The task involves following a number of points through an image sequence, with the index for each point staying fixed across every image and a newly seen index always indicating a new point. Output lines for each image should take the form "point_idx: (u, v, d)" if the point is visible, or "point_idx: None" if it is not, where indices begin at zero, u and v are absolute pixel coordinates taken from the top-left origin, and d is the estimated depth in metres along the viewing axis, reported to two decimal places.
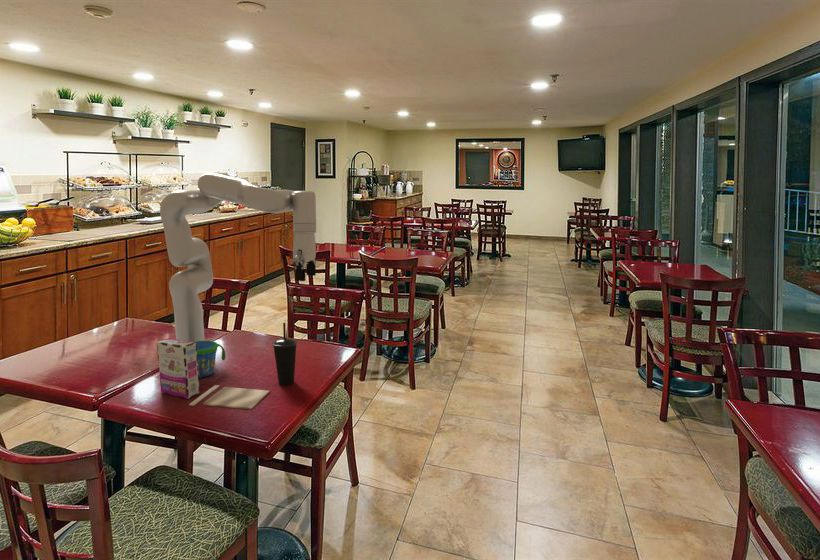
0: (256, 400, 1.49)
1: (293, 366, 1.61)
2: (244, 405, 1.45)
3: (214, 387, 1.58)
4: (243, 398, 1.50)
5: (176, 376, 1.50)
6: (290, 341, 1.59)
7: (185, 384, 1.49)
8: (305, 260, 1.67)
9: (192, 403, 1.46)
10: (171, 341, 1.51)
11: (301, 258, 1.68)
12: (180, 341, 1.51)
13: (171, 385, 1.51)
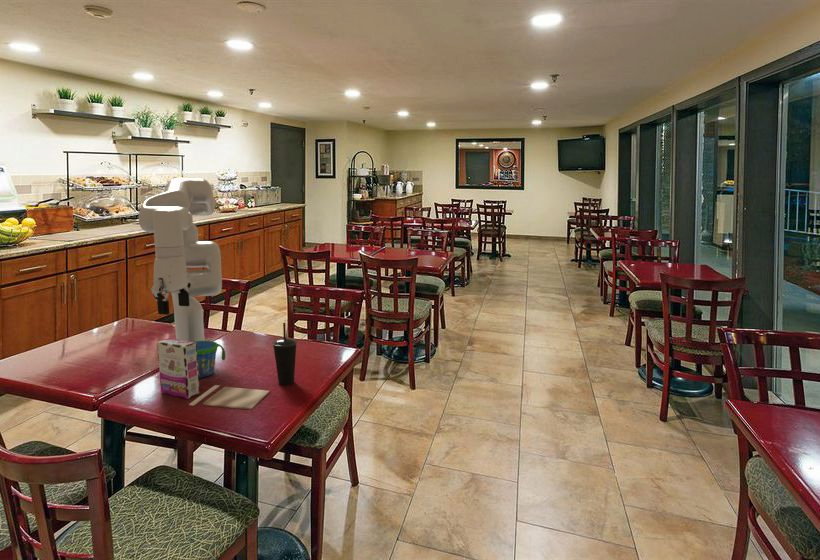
0: (256, 400, 1.49)
1: (293, 366, 1.61)
2: (244, 405, 1.45)
3: (214, 387, 1.58)
4: (243, 398, 1.50)
5: (176, 376, 1.50)
6: (290, 341, 1.59)
7: (185, 384, 1.49)
8: (168, 290, 1.42)
9: (192, 403, 1.46)
10: (171, 341, 1.51)
11: (165, 288, 1.44)
12: (180, 341, 1.51)
13: (171, 385, 1.51)
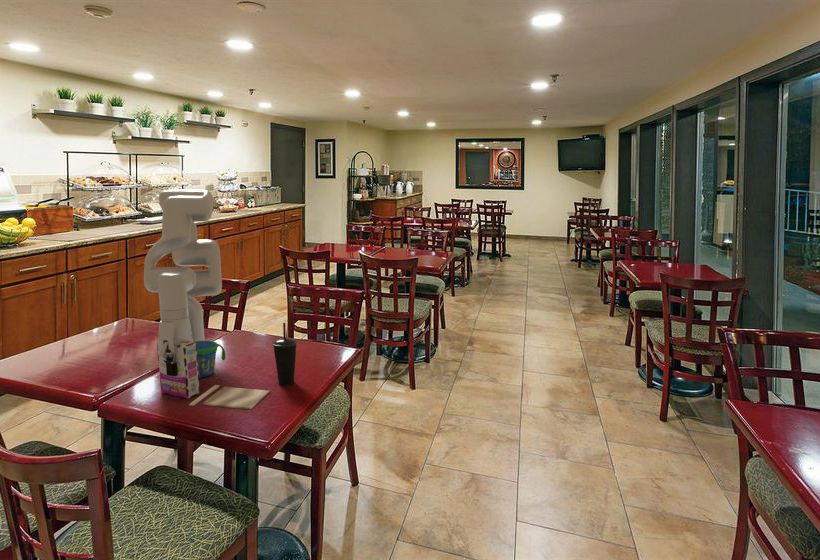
0: (256, 400, 1.49)
1: (293, 366, 1.61)
2: (244, 405, 1.45)
3: (214, 387, 1.58)
4: (243, 398, 1.50)
5: (176, 376, 1.50)
6: (290, 341, 1.59)
7: (185, 384, 1.49)
8: (172, 352, 1.46)
9: (192, 403, 1.46)
10: None
11: (169, 349, 1.48)
12: None
13: (171, 385, 1.51)
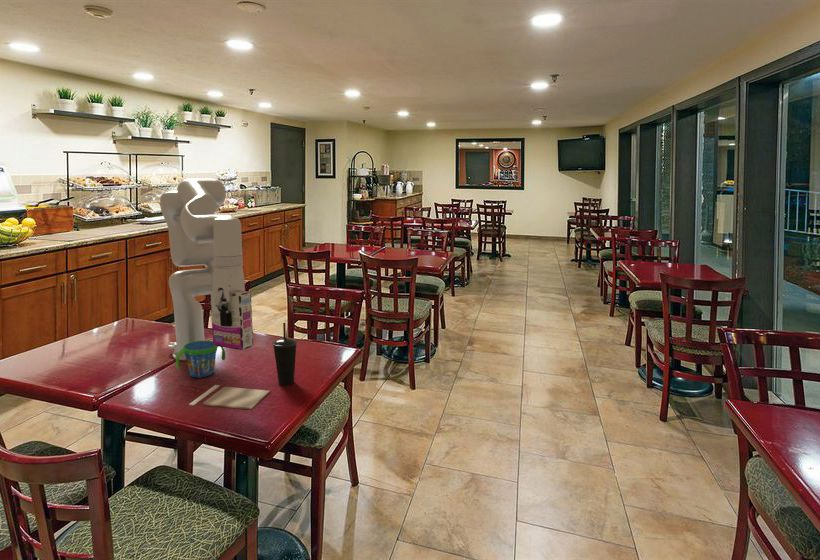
0: (256, 400, 1.49)
1: (293, 366, 1.61)
2: (244, 405, 1.45)
3: (214, 387, 1.58)
4: (243, 398, 1.50)
5: (230, 327, 1.44)
6: (290, 341, 1.59)
7: (240, 335, 1.43)
8: (227, 300, 1.40)
9: (192, 403, 1.46)
10: None
11: (224, 297, 1.42)
12: None
13: (224, 336, 1.45)
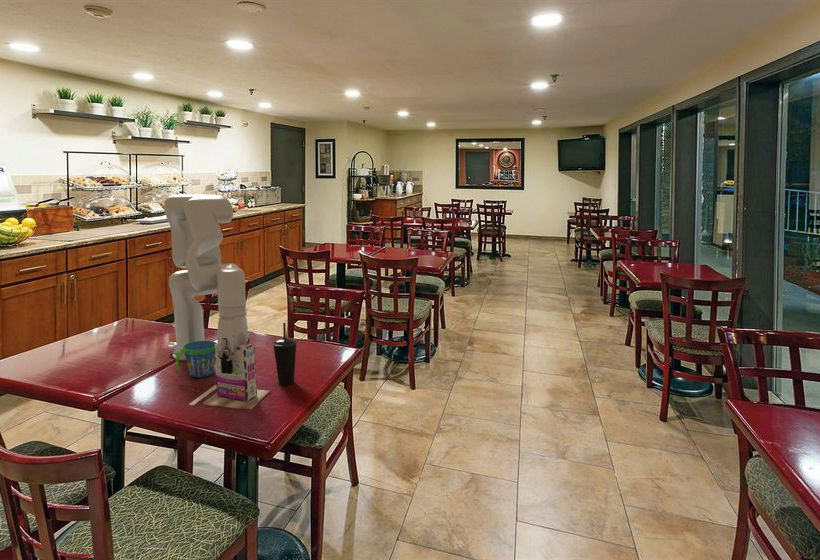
0: (256, 400, 1.49)
1: (293, 366, 1.61)
2: (244, 405, 1.45)
3: (214, 387, 1.58)
4: None
5: (234, 379, 1.47)
6: (290, 341, 1.59)
7: (244, 387, 1.46)
8: (232, 350, 1.43)
9: (192, 403, 1.46)
10: None
11: (228, 347, 1.44)
12: None
13: (229, 388, 1.48)
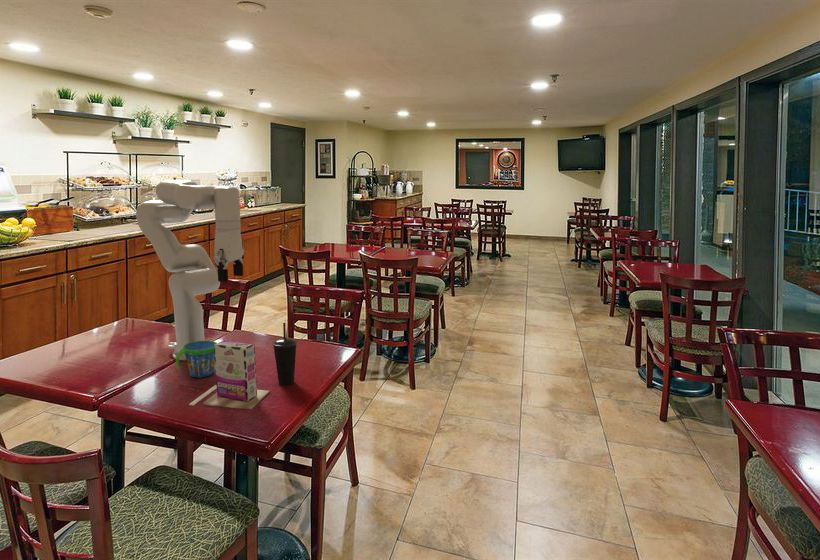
0: (256, 400, 1.49)
1: (293, 366, 1.61)
2: (244, 405, 1.45)
3: (214, 387, 1.58)
4: None
5: (234, 379, 1.47)
6: (290, 341, 1.59)
7: (244, 387, 1.46)
8: (227, 260, 1.58)
9: (192, 403, 1.46)
10: (228, 343, 1.48)
11: (224, 258, 1.60)
12: (238, 343, 1.48)
13: (229, 388, 1.48)
